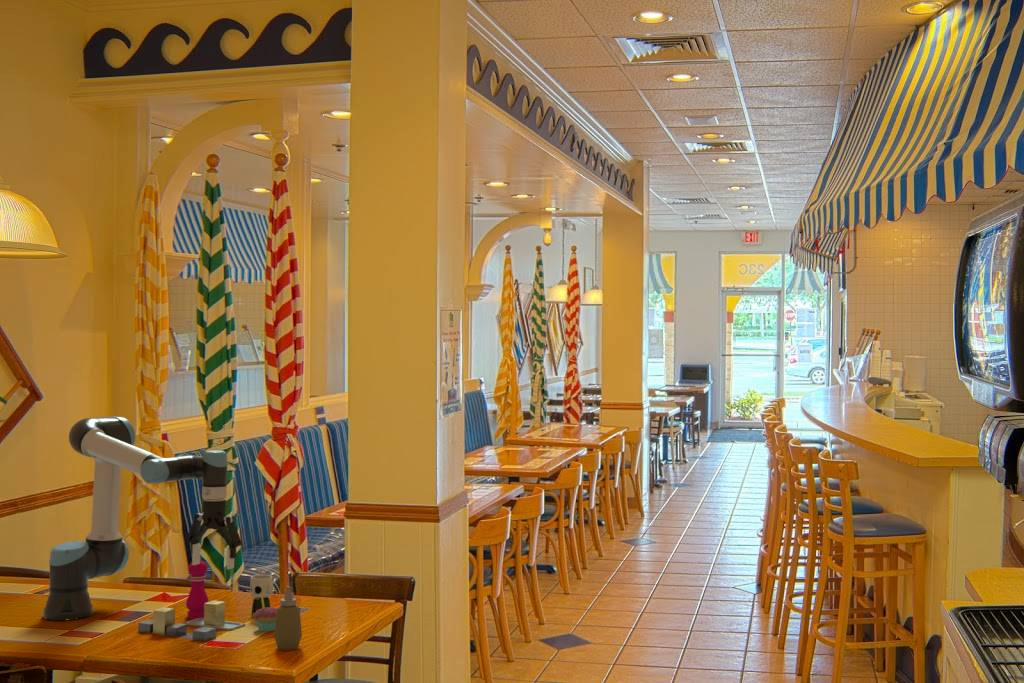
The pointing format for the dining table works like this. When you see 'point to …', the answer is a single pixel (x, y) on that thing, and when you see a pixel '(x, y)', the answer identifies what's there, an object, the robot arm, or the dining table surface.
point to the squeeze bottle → (288, 623)
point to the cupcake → (265, 617)
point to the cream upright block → (163, 620)
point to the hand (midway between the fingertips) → (213, 566)
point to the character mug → (261, 591)
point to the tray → (226, 626)
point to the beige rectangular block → (214, 613)
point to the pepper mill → (197, 590)
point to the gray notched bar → (180, 631)
